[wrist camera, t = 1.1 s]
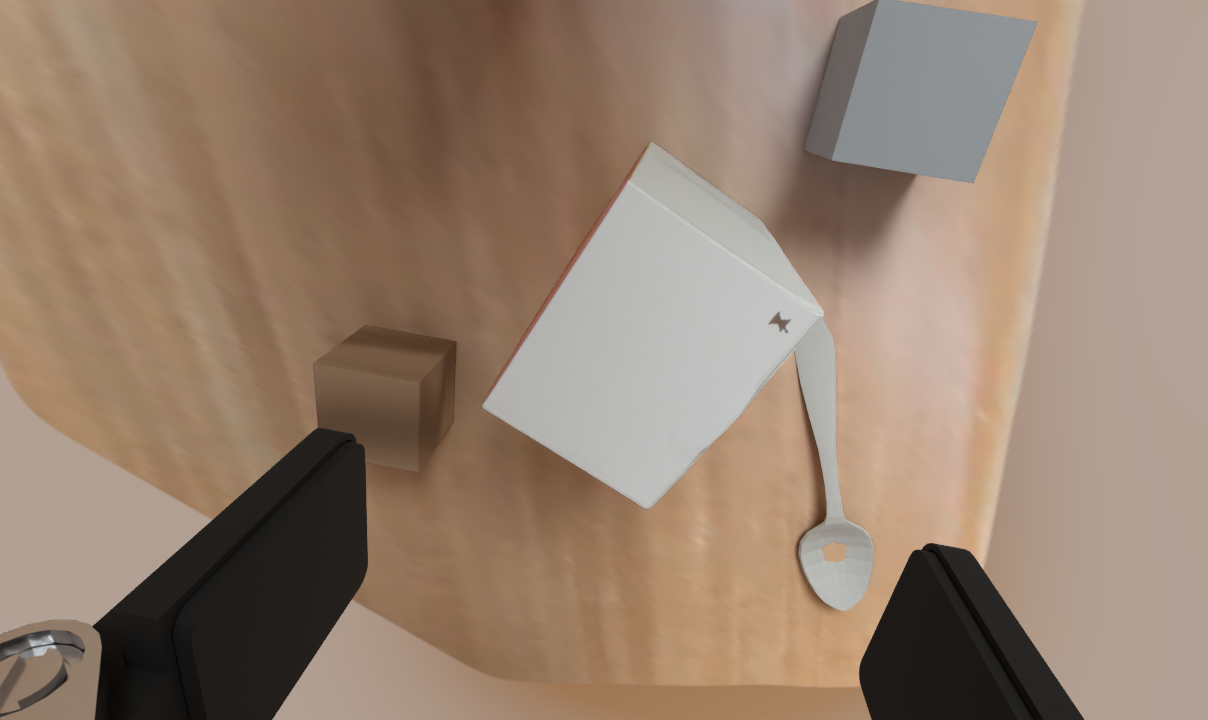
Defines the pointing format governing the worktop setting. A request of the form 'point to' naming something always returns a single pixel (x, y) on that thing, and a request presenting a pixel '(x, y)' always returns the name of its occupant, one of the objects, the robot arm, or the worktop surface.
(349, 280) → the worktop surface
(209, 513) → the worktop surface
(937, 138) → the slate block
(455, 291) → the worktop surface
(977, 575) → the robot arm
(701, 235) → the small box
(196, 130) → the worktop surface
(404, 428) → the walnut block
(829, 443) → the spoon
